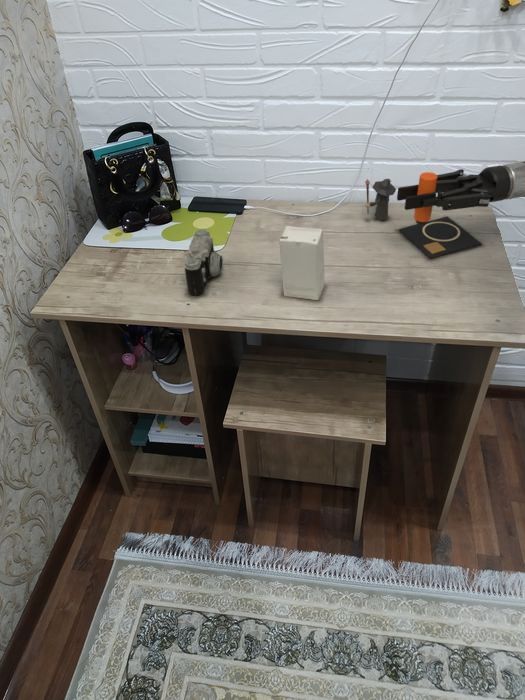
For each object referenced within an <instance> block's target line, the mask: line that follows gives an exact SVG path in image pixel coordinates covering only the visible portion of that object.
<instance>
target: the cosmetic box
mask: <svg viewBox="0 0 525 700" xmlns="http://www.w3.org/2000/svg"><path fill="white" fill-rule="evenodd" d="M278 242H279V254H280V266H281V277H282V278H281V279H282V288H283V296H284V297H292V298H298V299H304V300H305V299H307V300H313V301H319V300H320V297H321V296H322V295H321V294H322V292H323V289H324V287H325V255H324V254H325V253H324V251H325V250H324V229H323V228H315V227H313V228H312V227H301V226H290V225H286V227H285V228H284V231H283V232H282V235H281V237H280V238H279V240H278Z"/></svg>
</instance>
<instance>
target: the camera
mask: <svg viewBox="0 0 525 700" xmlns="http://www.w3.org/2000/svg"><path fill="white" fill-rule="evenodd" d="M186 257H187V258H186V261H185V263H184V266H183V268H184V273H185V279H186V284H187V291H188V295H189V296H190V297H193V298H198V297H203V296H204V294H205V291H206V289H207V284H208V282H209V279H211V278H214V277H217V276H218V275H220V274H222V273H223V269H224V259H223V256H222V255H221V254H219V253H218V252H217V251H215V249H214V240H213V238H212V237H211V234H210V231H208V230H207V229H205V228H199V229H197V230H196V231H195V232H194V234H193V237H192V240H191V241H190V244H189V247H188V251H187V254H186Z"/></svg>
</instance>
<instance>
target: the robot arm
mask: <svg viewBox="0 0 525 700" xmlns="http://www.w3.org/2000/svg"><path fill="white" fill-rule="evenodd" d="M436 175H437V183H436V189H435V192H434V193H427V194H421V195H417V192H418V185H419V183H418V184H414V185H413V184H412V185H407V186H406V185H405V186H399V187H397V194H396V200H397V201H398V202H399V201H405V202H404V210H405V211H408V210H415V209H416V208H422V207H430V206H433V207H437V208H441V209H442V211H454V210H461V209H468V208H476V207H477V208H479V207H480V208H487V207H489V205H490V203H495V202H501V201H502V202H503V201H504V200H505V201H506V200H507V201H508V200H512V199H517V198H524V197H525V161H519V162H513V163H507V164H502V165H493V166H487V167H485V168H483V169H482V170H481V172H480V173H478V174H468V175H467V174H465V170H464V169H462V168H461V169H458V170H456V171H452V172H446V173H440V174H436Z"/></svg>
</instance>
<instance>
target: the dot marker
mask: <svg viewBox="0 0 525 700" xmlns="http://www.w3.org/2000/svg"><path fill="white" fill-rule="evenodd" d="M437 175H438V174H436V173H434V172H430V171H426V172H422V173H420V175H419V179H418V184H419V185H418V184H417V185H418V192H417V195H421V194H427V193H434V192H435V189H436V183H437ZM433 207H434V206H430V207H422V208H416V209H414V213H413V214H414V215H413V219H414V220H415V223H416V224H419V225H425V224H427V223H428V221H431V219H432V218H431V217H432V212H433Z"/></svg>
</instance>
